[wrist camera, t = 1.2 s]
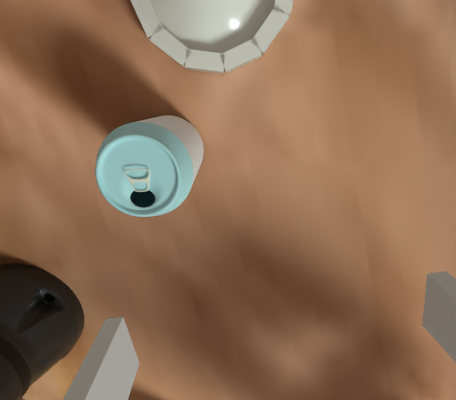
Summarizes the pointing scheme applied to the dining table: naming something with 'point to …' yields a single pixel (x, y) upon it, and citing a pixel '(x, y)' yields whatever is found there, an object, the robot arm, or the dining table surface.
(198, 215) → the dining table surface
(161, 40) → the saucer
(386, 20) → the dining table surface
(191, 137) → the can
